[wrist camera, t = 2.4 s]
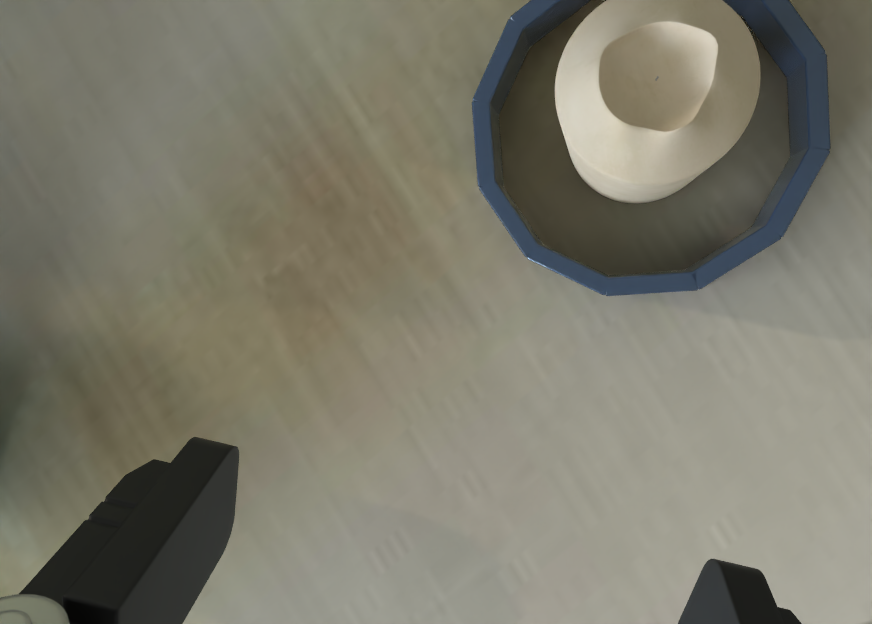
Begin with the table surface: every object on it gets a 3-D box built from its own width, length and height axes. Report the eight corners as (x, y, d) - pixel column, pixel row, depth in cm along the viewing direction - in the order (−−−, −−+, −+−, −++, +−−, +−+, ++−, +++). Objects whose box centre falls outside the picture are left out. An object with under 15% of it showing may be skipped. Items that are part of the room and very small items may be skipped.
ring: (428, 105, 29) (413, 92, 27) (686, -96, 26) (695, -131, 24) (593, 347, 29) (592, 356, 26) (877, 169, 26) (906, 160, 23)
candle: (681, 40, 27) (726, -80, 17) (732, 171, 27) (807, 125, 17) (548, 100, 28) (520, 21, 18) (597, 225, 28) (595, 211, 18)
